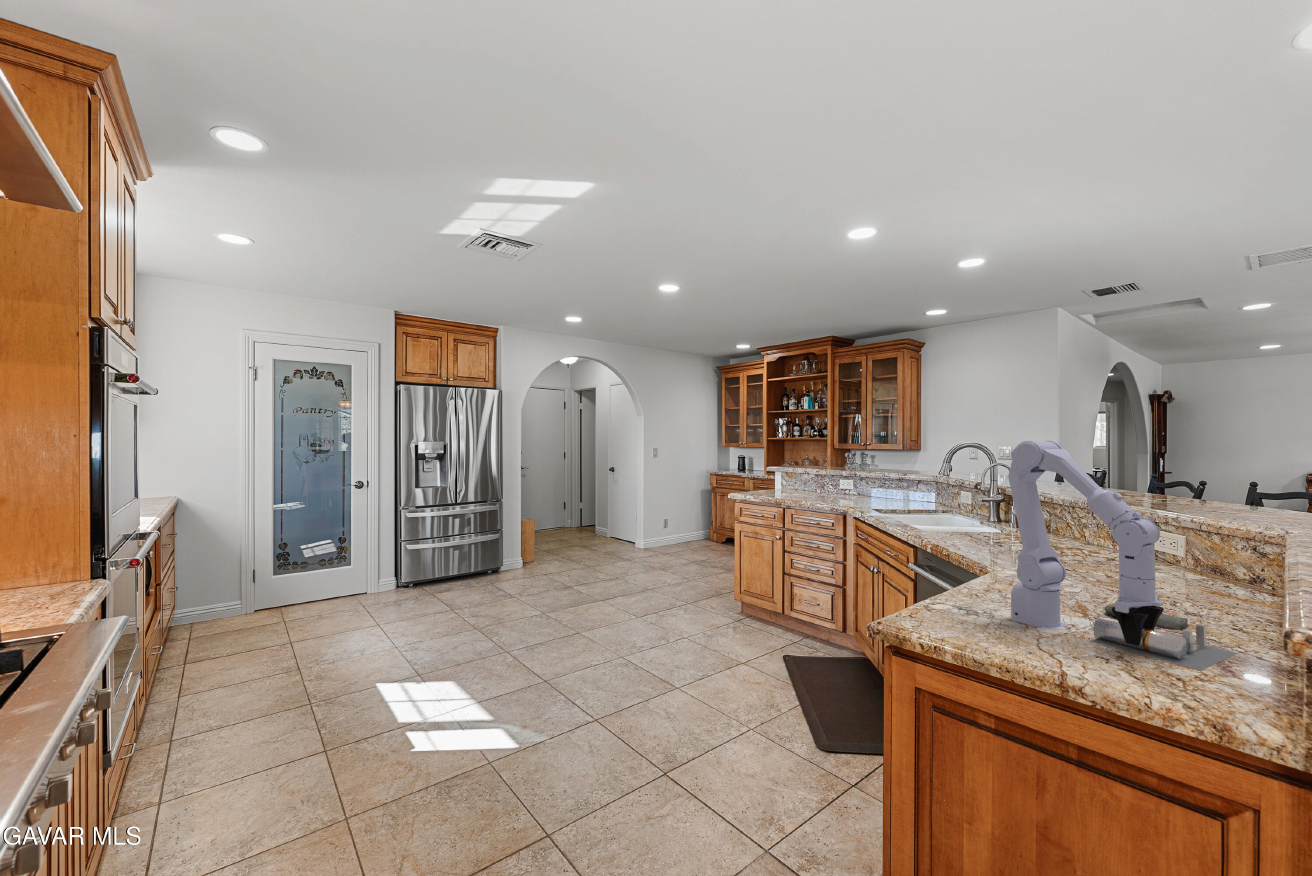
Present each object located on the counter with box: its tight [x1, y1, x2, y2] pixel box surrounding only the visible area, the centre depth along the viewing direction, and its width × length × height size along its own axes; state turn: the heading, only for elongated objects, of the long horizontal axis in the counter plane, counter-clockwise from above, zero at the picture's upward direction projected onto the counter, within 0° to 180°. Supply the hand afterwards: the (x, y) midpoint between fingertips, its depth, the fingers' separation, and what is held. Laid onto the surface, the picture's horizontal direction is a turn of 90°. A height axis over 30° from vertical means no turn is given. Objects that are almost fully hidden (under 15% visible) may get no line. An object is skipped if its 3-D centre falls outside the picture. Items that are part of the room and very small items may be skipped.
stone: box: [1103, 603, 1188, 632], centre depth 134 cm, size 11×4×15 cm
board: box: [1089, 638, 1238, 672], centre depth 116 cm, size 18×18×1 cm
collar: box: [1181, 623, 1208, 654], centre depth 114 cm, size 1×8×4 cm, turn 118°
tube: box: [1093, 617, 1187, 660], centre depth 115 cm, size 14×4×4 cm, turn 28°
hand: (1138, 641), depth 115 cm, fingers open, 5 cm apart
